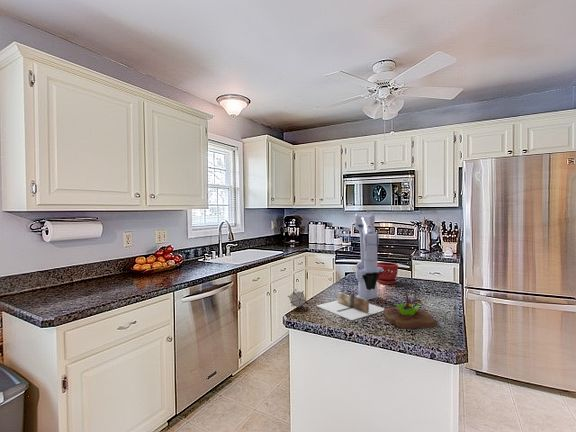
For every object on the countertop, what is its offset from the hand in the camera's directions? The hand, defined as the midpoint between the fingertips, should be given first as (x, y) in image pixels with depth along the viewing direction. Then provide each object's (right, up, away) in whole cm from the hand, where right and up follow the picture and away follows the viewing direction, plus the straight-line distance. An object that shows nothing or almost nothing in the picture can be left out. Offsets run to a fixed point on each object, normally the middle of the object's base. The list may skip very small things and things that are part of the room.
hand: (370, 289), depth 143 cm
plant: (+12, -10, -12) cm, 20 cm away
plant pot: (+23, -8, +50) cm, 56 cm away
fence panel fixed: (-10, -9, +6) cm, 15 cm away
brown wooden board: (-5, -9, -2) cm, 10 cm away
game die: (-33, -10, +4) cm, 35 cm away
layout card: (-9, -9, +2) cm, 13 cm away
